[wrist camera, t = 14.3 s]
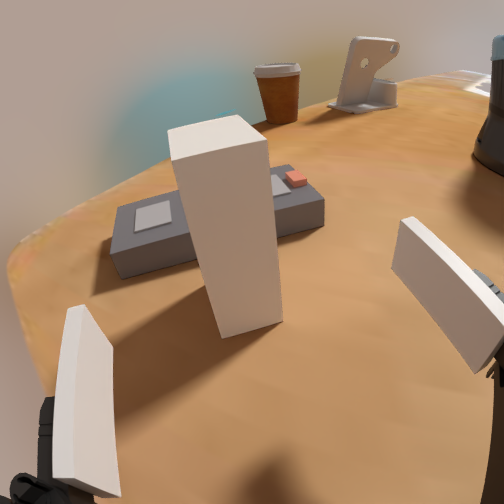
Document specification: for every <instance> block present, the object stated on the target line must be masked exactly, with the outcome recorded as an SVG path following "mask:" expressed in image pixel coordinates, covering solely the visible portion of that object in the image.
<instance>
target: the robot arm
mask: <svg viewBox="0 0 504 504" xmlns="http://www.w3.org/2000/svg"><path fill="white" fill-rule="evenodd" d="M491 61H492V75H491V90H490V100H489V111H488V115H487V118H486V120H485V122H484V124H483V126H482V128H481V130H480V132H479V134H478V137H477V138H476V141H475V146H474V155H475V157H476V158H477V159H478V160H479V161H480V162H481V163H483V164H484V165H485V166H487V167H488V168H490V169H492V170H493V171H495V172H497V173H499V174H501V175H503V176H504V35H498V36H496V37H495V38H494V39H493V44H492V57H491ZM391 269H392V270H393V271H394V272H395V273H396V275H397V276H398V277H399V278H400V279H401V280H402V282H403V283H404V284H405V285H406V286H407V288H408V289H409V290H410V291H411V292H412V293H413V295H414V296H415V297H416V298H417V299H418V301H419V302H420V303H421V304H422V306H423V307H424V308H425V309H426V311H427V312H428V313H429V314H430V316H431V317H432V318H433V319H434V321H435V322H436V323H437V324H438V326H439V327H440V328H441V329H442V331H443V332H444V333H445V335H446V336H447V337H448V339H449V340H450V341H451V343H452V344H453V345H454V346H455V348H456V349H457V351H458V352H459V353H460V355H461V356H462V357H463V359H464V360H465V361H466V363H467V364H468V366H469V367H470V368H471V370H472V371H473V373H474V374H476V373H478V372H479V371H481V370H482V369H483V368H485V367H486V366H487V365H488V364H489V362H490V361H491V360H492V358H493V357H494V358H495V359H496V361H495V363H494V364H493V365H492V367H491V368H490V369H489V371H488V372H487V375H486V378H488V377H489V376H490V375H491V374H492V373H493V371H494V374H493V375H492V377H491V378H492V379H494V406H493V423H492V434H491V444H490V452H489V460H488V466H487V472H486V478H485V484H484V489H483V493H482V498H481V503H480V504H504V294H503V293H502V292H500V290H499V289H498V288H497V287H496V285H495V286H494V283H493V282H492V281H491V280H490V279H489V278H488V277H487V276H486V275H484V274H483V273H481V272H479V271H478V270H476V269H474V270H471V269H470V268H469V267H468V266H467V265H466V264H465V263H464V262H463V261H462V260H461V259H460V258H459V257H458V256H457V255H456V254H455V253H454V252H453V251H452V250H451V249H449V248H448V247H447V246H446V245H445V244H444V243H443V242H442V241H441V240H440V239H439V238H438V237H436V236H435V235H434V234H433V233H432V232H431V231H430V230H429V229H427V228H426V227H425V226H424V225H423V224H422V223H421V222H419V221H418V220H417V219H416V218H415V217H414V216H412V217H409V218H405V219H402V220H400V225H399V231H398V237H397V242H396V247H395V252H394V257H393V262H392V267H391ZM39 425H40V427H39V432H38V435H39V438H38V464H37V465H38V467H37V468H38V469H37V470H38V471H37V472H38V473H37V478H36V477H34V476H32V475H30V474H27V473H19V474H18V475H16V476H15V477H14V478H13V480H12V481H11V485H10V497H11V499H9V498H6V497H4V496H1V495H0V504H97V503H95V502H94V496H93V495H95V496H98V497H101V498H118V497H121V490H120V482H119V474H118V465H117V454H116V442H115V427H114V405H113V346H112V345H111V344H110V342H109V341H108V339H107V338H106V336H105V335H104V333H103V332H102V331H101V329H100V328H99V326H98V325H97V323H96V322H95V320H94V319H93V317H92V315H91V314H90V312H89V311H88V309H87V308H86V306H85V304H83V305H79V306H75V307H71V308H68V311H67V316H66V321H65V326H64V332H63V338H62V344H61V351H60V358H59V365H58V374H57V382H56V393H55V396H53V397H46V398H45V400H44V403H43V405H42V407H41V410H40V418H39Z"/></svg>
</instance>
